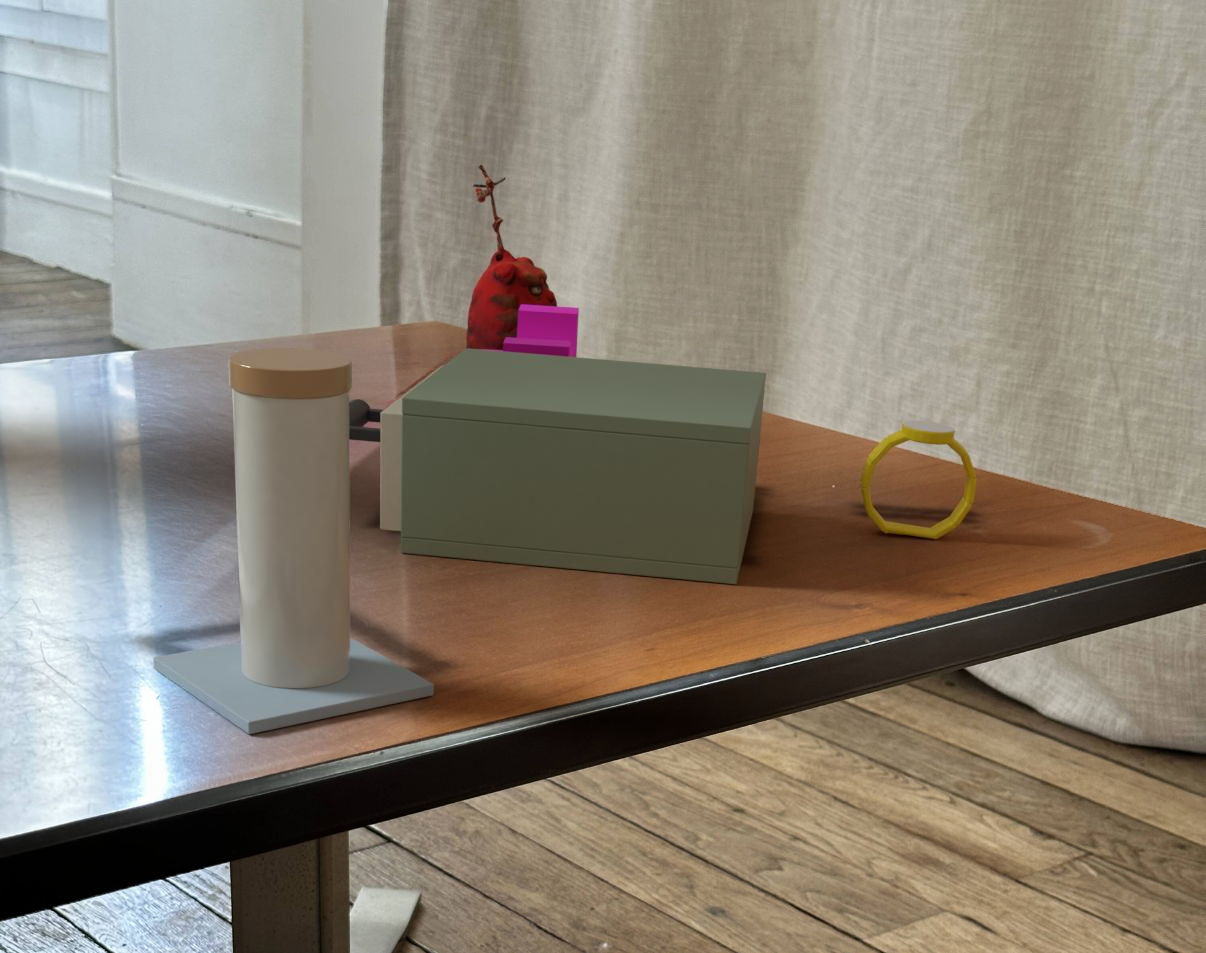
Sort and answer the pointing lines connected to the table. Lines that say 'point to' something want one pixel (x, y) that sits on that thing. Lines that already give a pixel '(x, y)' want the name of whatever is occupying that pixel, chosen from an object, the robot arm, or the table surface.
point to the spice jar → (292, 514)
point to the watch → (928, 435)
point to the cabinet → (582, 464)
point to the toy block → (545, 331)
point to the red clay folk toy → (503, 289)
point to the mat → (268, 708)
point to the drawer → (383, 452)
